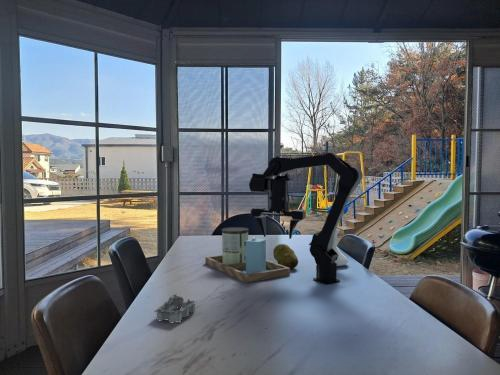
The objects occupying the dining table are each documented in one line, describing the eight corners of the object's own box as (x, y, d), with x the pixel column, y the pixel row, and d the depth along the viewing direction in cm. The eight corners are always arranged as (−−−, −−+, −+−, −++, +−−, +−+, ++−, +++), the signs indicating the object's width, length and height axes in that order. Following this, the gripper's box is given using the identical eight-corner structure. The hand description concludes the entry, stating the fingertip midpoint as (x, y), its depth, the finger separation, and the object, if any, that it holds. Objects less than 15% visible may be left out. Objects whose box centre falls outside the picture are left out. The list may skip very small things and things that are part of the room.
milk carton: (265, 272, 141) (265, 237, 140) (260, 276, 136) (260, 239, 135) (251, 271, 143) (251, 236, 142) (245, 274, 138) (245, 238, 137)
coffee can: (224, 261, 158) (224, 226, 157) (249, 262, 157) (249, 227, 156) (219, 267, 147) (219, 230, 147) (247, 268, 146) (247, 231, 146)
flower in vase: (346, 269, 144) (347, 202, 143) (316, 267, 148) (316, 201, 147) (349, 261, 157) (350, 199, 156) (321, 259, 161) (321, 199, 159)
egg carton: (176, 307, 106) (176, 292, 106) (200, 311, 103) (200, 296, 103) (151, 321, 96) (150, 304, 96) (176, 326, 93) (176, 309, 93)
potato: (277, 271, 143) (277, 249, 142) (271, 262, 156) (271, 242, 155) (299, 270, 143) (299, 248, 143) (292, 262, 156) (292, 242, 156)
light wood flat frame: (290, 275, 137) (290, 268, 137) (246, 282, 128) (246, 275, 128) (244, 258, 163) (244, 252, 163) (205, 263, 154) (205, 257, 154)
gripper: (309, 193, 141) (308, 236, 142) (260, 191, 147) (259, 232, 148) (303, 195, 131) (301, 241, 131) (250, 192, 137) (249, 237, 138)
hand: (277, 237), depth 137 cm, fingers open, 9 cm apart
